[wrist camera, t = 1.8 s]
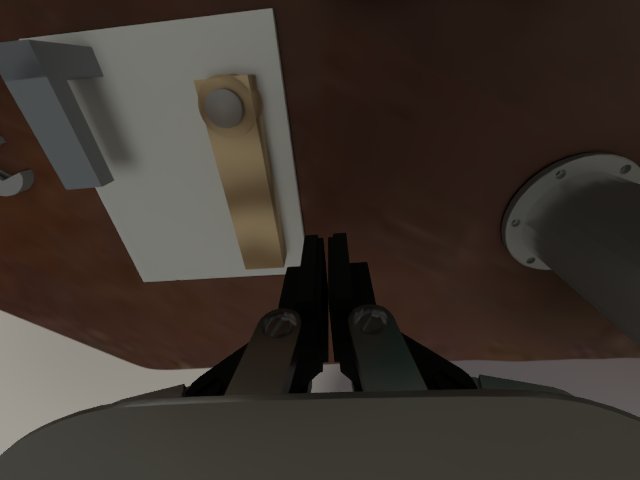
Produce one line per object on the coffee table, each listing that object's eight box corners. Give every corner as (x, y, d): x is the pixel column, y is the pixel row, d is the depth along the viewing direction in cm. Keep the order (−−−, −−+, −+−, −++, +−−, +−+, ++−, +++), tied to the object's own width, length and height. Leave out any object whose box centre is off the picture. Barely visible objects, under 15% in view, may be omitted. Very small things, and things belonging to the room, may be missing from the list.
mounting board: (273, 10, 21) (255, -12, 16) (308, 268, 33) (305, 305, 28) (28, 40, 23) (-66, 29, 17) (147, 277, 35) (114, 314, 29)
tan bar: (203, 77, 22) (183, 77, 19) (257, 71, 22) (245, 70, 19) (249, 256, 31) (241, 275, 28) (289, 253, 31) (284, 273, 28)
